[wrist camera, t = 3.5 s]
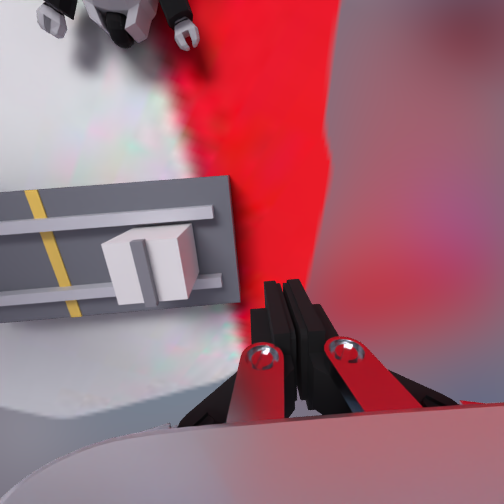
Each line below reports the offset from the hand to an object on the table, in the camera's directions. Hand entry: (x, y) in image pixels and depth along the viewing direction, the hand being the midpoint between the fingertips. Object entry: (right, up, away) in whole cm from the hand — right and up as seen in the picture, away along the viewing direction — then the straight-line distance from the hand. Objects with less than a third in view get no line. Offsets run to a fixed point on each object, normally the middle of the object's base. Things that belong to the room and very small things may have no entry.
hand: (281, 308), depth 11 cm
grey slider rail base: (-16, +3, +13) cm, 21 cm away
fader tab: (-9, +3, +10) cm, 13 cm away
